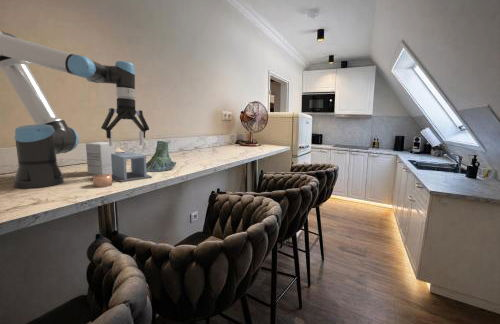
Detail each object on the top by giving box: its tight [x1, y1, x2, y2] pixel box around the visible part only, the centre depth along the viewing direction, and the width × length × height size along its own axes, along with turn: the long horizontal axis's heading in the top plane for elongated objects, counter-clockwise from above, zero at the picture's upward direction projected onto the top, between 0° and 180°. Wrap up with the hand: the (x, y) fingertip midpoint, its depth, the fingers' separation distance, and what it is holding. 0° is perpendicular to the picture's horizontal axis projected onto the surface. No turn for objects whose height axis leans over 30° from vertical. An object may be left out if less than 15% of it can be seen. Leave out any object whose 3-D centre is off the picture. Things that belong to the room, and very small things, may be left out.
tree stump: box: [146, 140, 177, 173], centre depth 139 cm, size 18×20×18 cm
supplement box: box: [85, 141, 116, 175], centre depth 122 cm, size 9×9×15 cm
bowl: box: [92, 173, 113, 188], centre depth 100 cm, size 7×7×4 cm
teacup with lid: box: [115, 145, 129, 162], centre depth 138 cm, size 12×9×12 cm
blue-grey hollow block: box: [111, 151, 148, 180], centre depth 115 cm, size 14×10×10 cm
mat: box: [110, 171, 153, 183], centre depth 116 cm, size 16×14×1 cm
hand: (127, 145), depth 114 cm, fingers open, 13 cm apart
